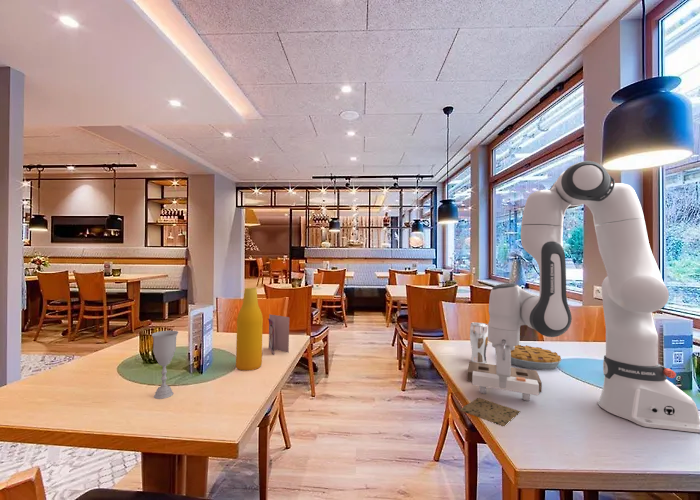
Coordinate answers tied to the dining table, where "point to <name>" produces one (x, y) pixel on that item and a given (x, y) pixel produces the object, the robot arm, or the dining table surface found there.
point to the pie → (534, 358)
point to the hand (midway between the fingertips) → (502, 381)
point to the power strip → (511, 384)
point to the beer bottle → (249, 333)
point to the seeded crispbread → (490, 411)
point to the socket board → (492, 370)
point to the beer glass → (479, 342)
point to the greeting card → (278, 333)
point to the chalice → (164, 358)
